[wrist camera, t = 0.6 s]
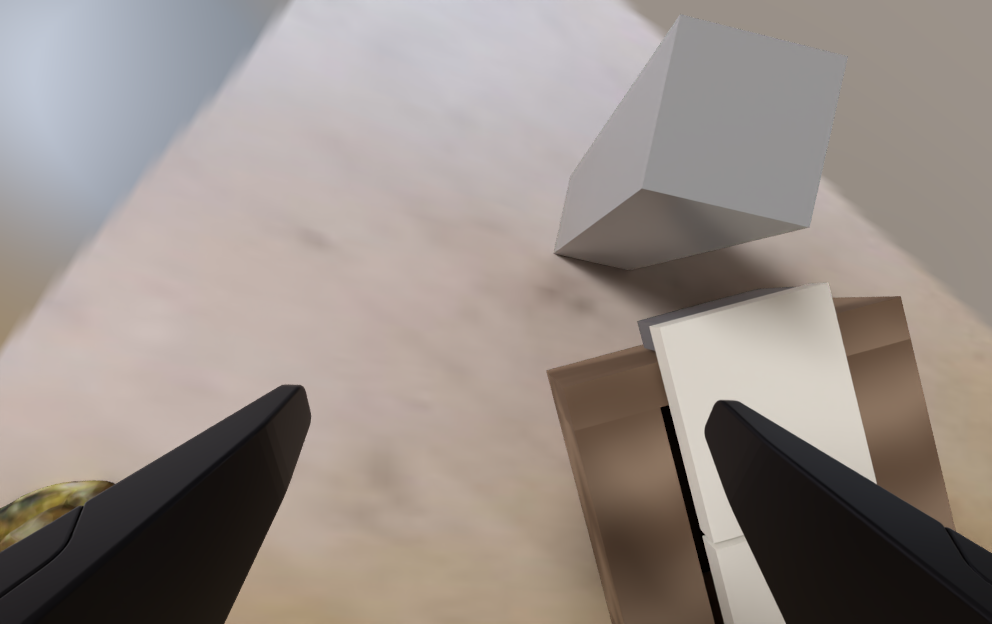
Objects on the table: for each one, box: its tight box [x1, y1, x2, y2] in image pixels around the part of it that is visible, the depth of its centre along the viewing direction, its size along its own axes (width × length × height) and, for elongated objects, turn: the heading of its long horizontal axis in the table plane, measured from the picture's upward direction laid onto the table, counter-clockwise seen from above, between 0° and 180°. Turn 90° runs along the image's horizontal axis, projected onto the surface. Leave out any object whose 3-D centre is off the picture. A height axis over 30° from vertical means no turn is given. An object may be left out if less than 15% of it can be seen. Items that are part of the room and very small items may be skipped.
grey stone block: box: [554, 14, 848, 270], centre depth 16 cm, size 4×4×12 cm
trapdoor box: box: [547, 296, 956, 624], centre depth 20 cm, size 16×16×4 cm
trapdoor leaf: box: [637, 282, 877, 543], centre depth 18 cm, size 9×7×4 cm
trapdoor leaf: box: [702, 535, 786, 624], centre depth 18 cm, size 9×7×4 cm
